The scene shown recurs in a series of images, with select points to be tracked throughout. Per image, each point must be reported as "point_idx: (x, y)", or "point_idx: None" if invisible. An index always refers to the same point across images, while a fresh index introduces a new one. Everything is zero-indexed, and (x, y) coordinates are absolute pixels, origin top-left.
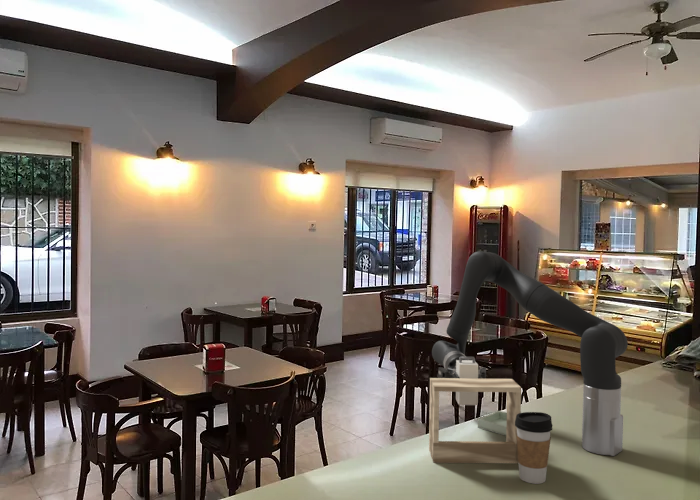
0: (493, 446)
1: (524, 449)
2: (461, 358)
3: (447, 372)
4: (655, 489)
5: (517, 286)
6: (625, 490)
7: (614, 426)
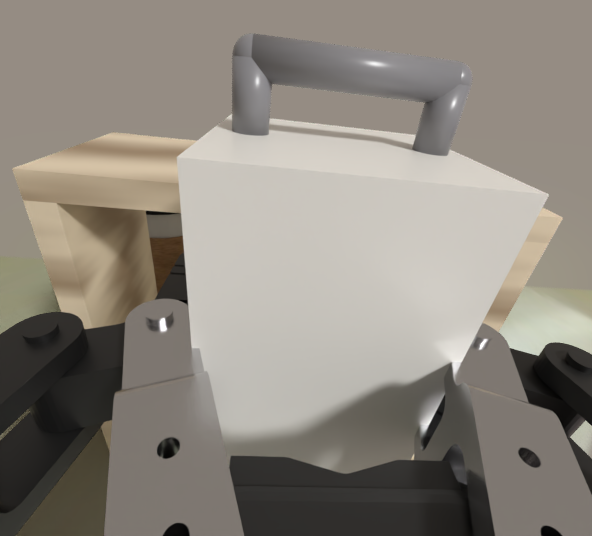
0: None
1: None
2: (432, 85)
3: (557, 343)
4: None
5: None
6: (26, 266)
7: None
